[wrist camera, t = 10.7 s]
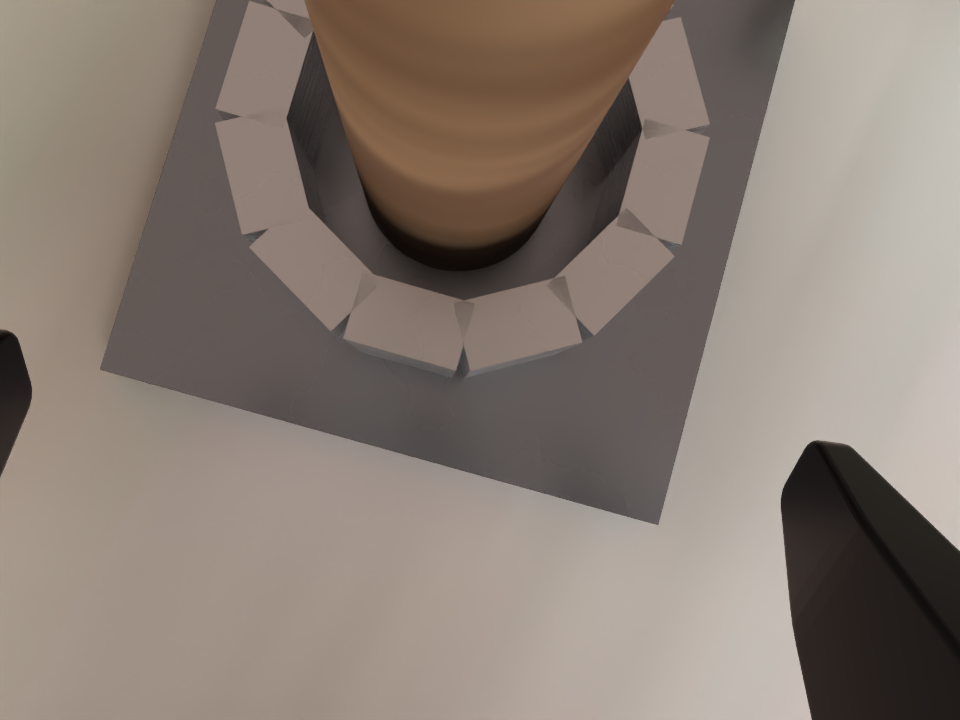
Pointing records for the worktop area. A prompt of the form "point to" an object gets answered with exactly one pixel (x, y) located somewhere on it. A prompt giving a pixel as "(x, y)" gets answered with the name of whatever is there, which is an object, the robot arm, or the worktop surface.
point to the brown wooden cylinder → (473, 109)
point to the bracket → (452, 294)
